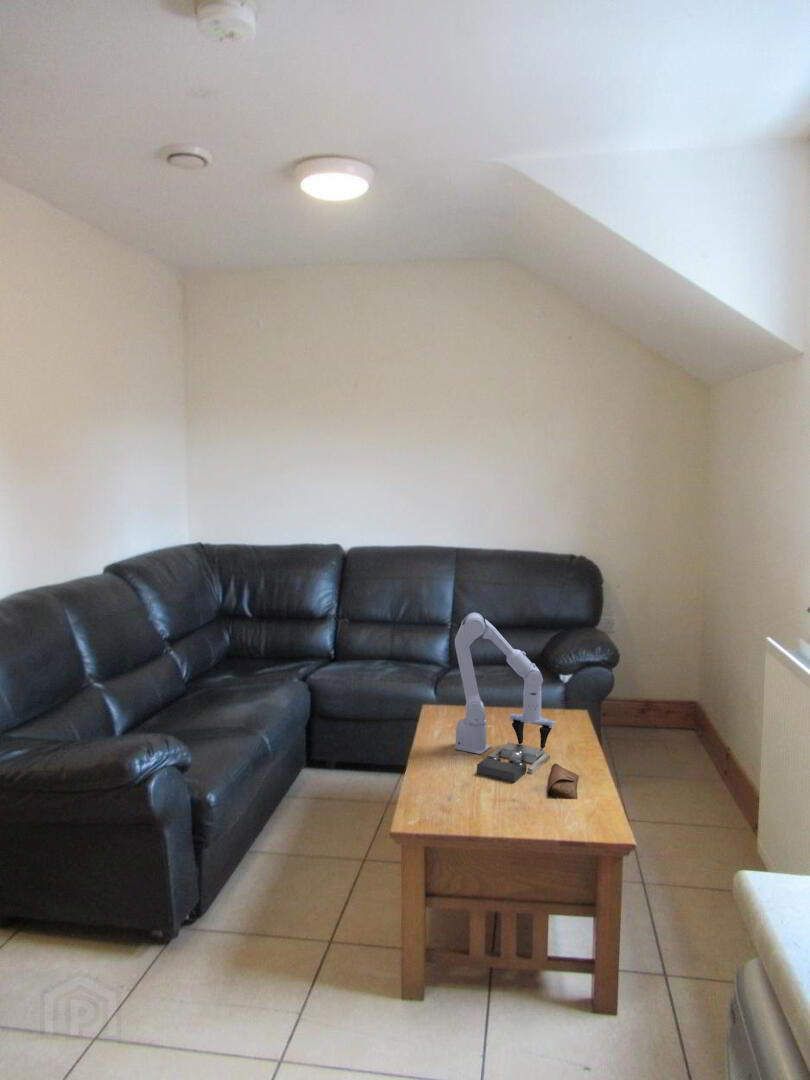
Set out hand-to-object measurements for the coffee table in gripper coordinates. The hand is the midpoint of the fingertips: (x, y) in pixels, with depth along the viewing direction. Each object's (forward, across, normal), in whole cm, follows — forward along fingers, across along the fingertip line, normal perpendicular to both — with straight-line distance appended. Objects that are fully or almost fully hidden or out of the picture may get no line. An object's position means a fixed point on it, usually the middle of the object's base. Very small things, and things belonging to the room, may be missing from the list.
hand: (531, 745), depth 246 cm
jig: (+1, 0, -12) cm, 12 cm away
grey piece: (+1, 0, -10) cm, 10 cm away
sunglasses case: (+2, +19, -22) cm, 29 cm away
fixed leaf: (+1, 0, -23) cm, 23 cm away
